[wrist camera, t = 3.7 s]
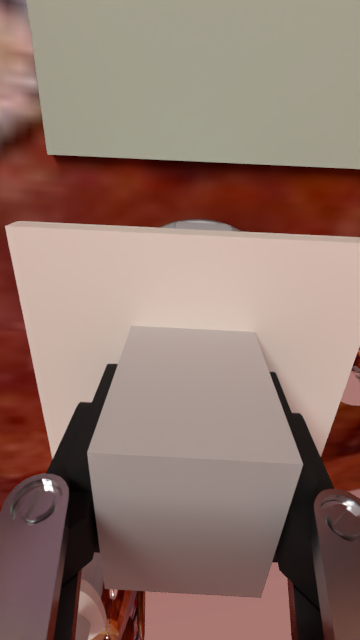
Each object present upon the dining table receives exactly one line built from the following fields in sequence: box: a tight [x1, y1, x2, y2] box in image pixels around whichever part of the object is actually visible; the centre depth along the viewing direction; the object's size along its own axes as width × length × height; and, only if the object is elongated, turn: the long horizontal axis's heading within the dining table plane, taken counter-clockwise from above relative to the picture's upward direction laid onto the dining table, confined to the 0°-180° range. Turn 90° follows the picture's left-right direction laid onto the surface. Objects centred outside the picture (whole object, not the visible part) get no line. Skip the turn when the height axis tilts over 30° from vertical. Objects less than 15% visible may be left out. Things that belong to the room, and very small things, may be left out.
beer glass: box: [75, 552, 145, 640], centre depth 17 cm, size 7×7×15 cm
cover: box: [5, 221, 360, 598], centre depth 10 cm, size 11×11×6 cm
